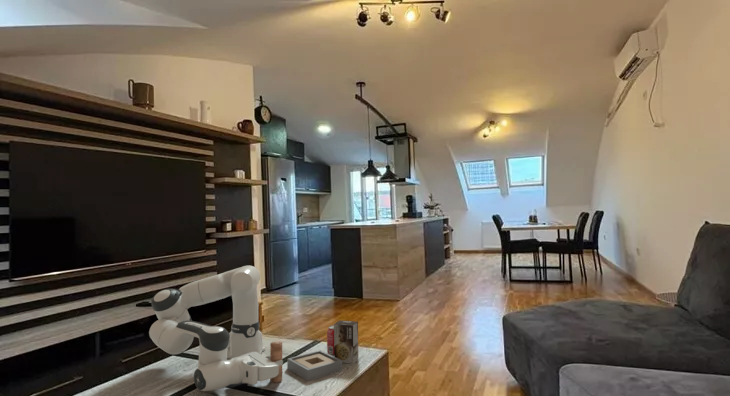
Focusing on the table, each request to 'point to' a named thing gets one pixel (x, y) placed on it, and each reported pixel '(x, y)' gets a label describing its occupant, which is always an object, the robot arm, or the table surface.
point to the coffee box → (346, 341)
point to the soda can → (330, 340)
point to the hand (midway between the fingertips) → (278, 359)
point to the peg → (276, 358)
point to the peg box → (314, 365)
